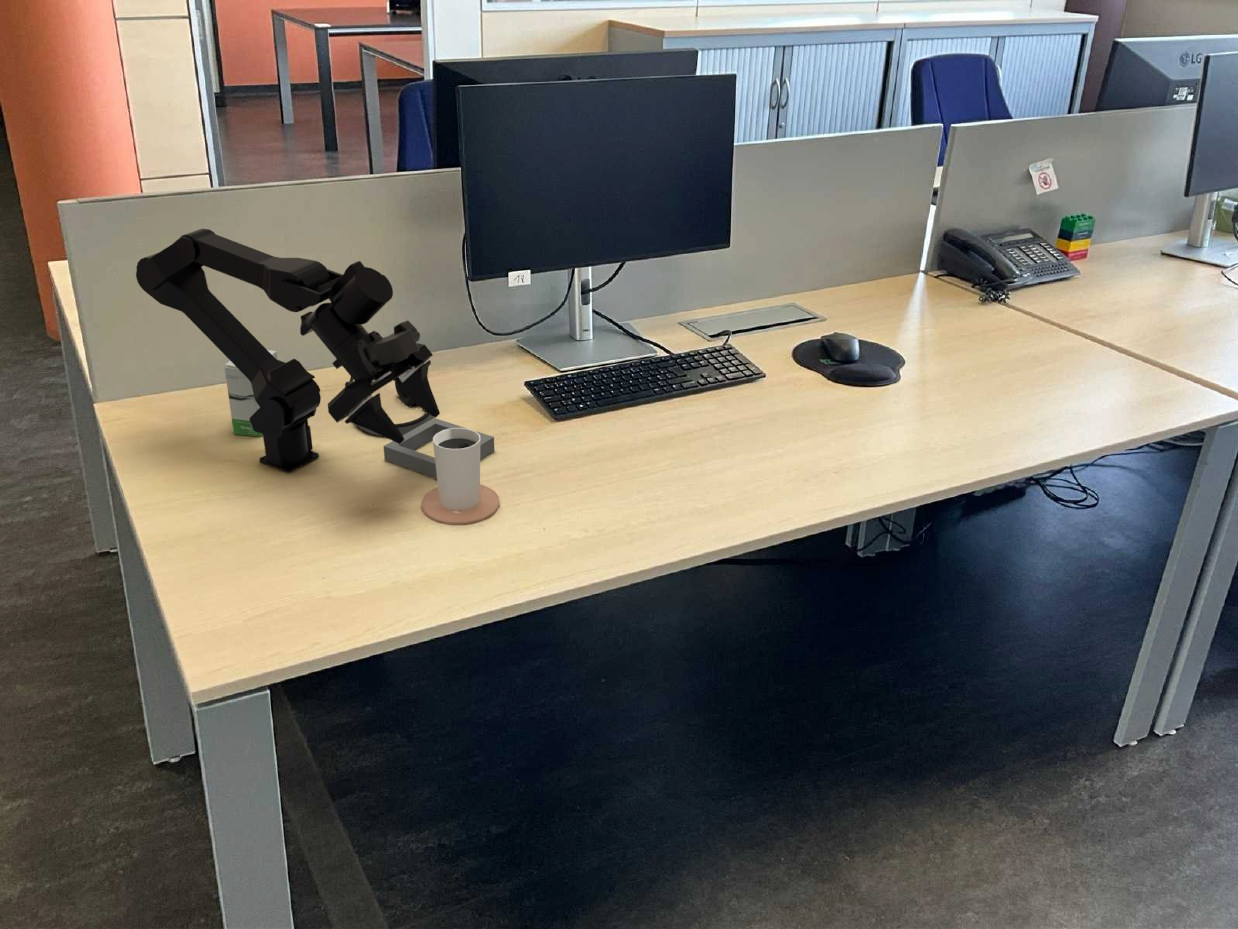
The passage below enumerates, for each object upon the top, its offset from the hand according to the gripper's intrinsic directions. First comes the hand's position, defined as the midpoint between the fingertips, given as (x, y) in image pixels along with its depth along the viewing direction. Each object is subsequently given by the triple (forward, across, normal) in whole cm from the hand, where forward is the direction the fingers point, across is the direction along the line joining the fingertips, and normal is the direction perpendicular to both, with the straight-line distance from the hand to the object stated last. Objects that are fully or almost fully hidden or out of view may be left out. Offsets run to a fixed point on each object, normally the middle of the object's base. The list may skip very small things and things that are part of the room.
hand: (420, 428), depth 153 cm
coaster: (+12, 0, +3) cm, 12 cm away
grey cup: (+12, 0, +3) cm, 12 cm away
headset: (-6, +21, +22) cm, 31 cm away
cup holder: (+5, +12, +11) cm, 16 cm away
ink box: (-17, +8, +34) cm, 39 cm away
